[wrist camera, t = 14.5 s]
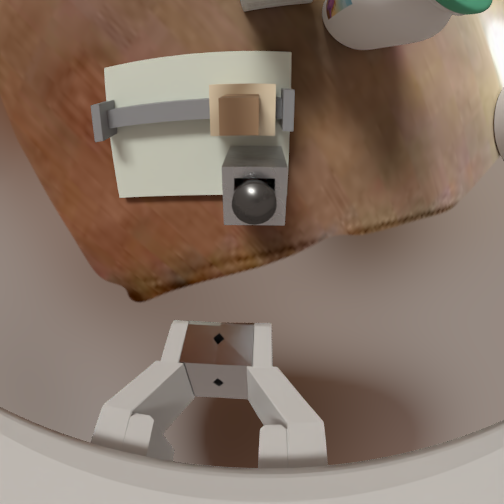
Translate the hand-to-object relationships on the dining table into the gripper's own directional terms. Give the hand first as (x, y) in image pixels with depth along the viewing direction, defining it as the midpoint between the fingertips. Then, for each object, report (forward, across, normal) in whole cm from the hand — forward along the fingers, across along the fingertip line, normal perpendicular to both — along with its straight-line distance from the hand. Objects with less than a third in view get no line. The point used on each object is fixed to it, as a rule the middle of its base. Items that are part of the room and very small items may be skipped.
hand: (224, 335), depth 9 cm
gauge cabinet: (+27, 0, +3) cm, 27 cm away
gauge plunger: (+24, 0, +3) cm, 24 cm away
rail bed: (+27, +6, -2) cm, 27 cm away
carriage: (+25, +1, -4) cm, 26 cm away
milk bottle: (+27, -11, -15) cm, 33 cm away
